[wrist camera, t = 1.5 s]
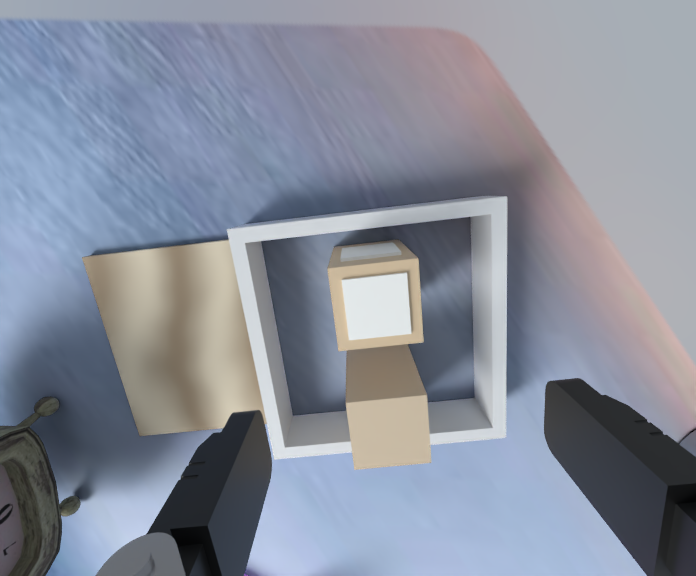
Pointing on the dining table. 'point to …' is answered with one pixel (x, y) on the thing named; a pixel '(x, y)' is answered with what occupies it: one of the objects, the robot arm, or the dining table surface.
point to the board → (177, 335)
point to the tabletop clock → (29, 499)
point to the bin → (444, 416)
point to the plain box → (386, 408)
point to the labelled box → (375, 295)
